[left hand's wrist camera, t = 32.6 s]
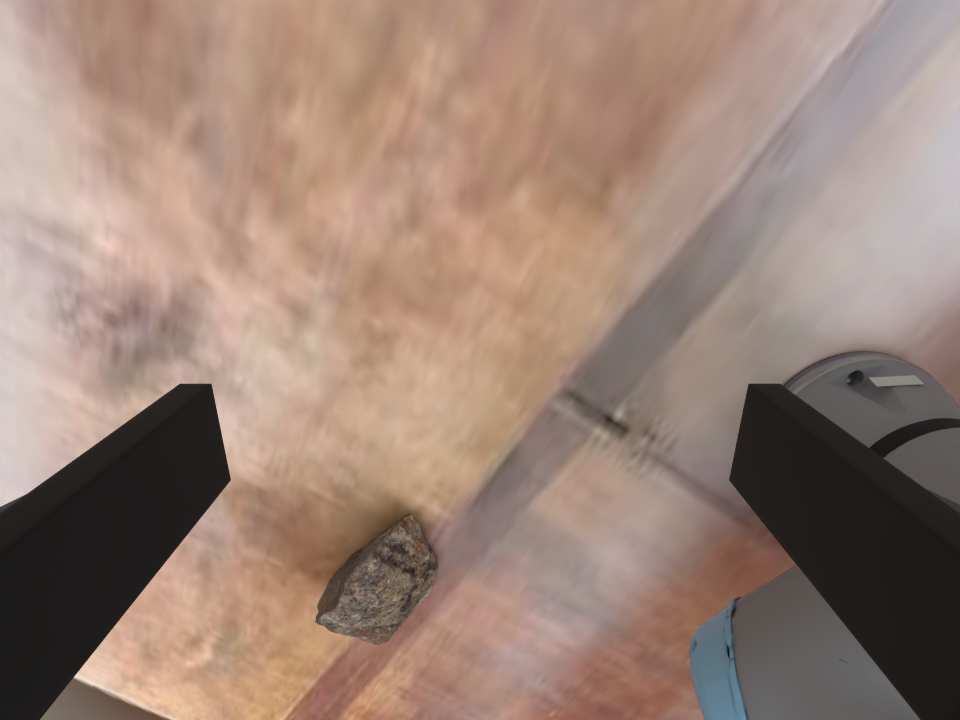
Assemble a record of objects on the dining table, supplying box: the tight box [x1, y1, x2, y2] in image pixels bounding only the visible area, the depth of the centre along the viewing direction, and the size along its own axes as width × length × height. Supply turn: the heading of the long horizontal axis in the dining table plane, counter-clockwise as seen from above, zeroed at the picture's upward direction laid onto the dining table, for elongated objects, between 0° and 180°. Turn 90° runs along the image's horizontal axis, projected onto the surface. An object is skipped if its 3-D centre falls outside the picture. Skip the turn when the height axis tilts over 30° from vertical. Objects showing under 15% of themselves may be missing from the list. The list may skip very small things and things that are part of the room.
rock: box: [315, 514, 438, 645], centre depth 47 cm, size 14×9×10 cm
